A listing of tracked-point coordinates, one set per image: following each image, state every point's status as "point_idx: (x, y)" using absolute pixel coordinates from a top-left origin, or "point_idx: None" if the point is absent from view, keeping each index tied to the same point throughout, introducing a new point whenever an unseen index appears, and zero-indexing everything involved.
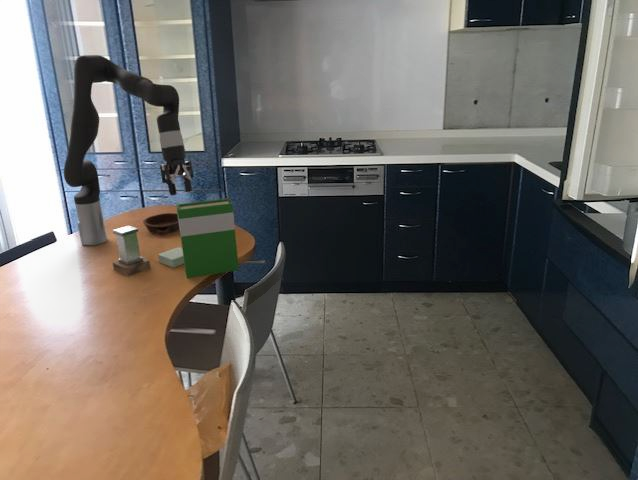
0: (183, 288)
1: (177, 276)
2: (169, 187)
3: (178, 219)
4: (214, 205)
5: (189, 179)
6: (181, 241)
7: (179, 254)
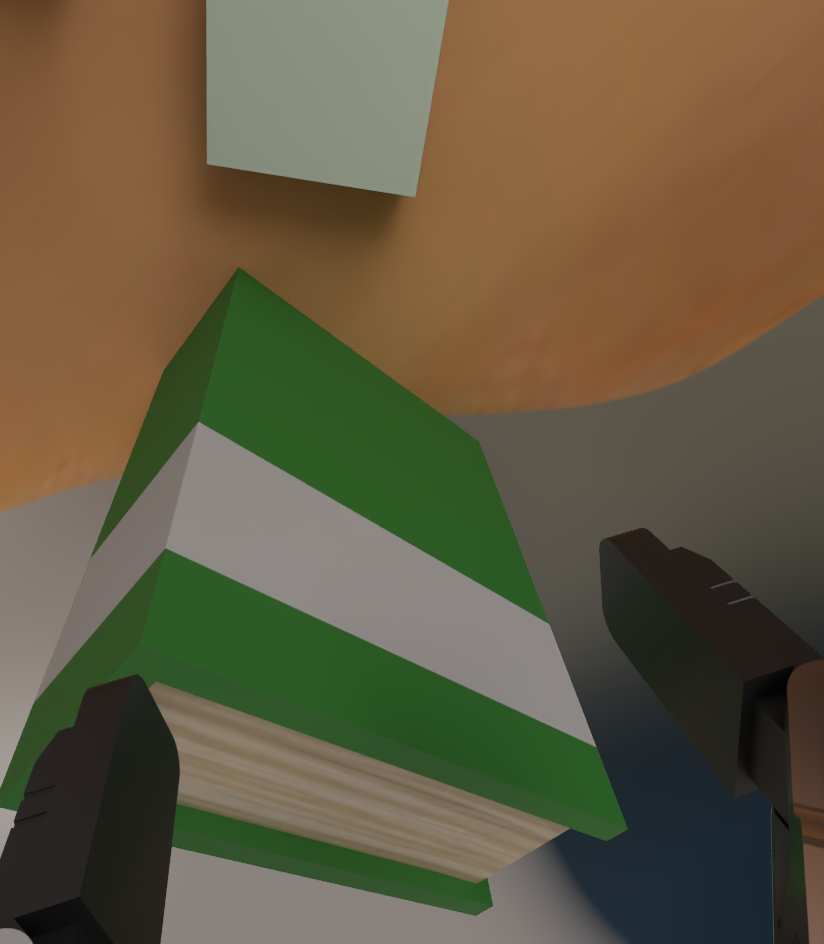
0: (68, 448)
1: (140, 299)
2: (10, 893)
3: (125, 570)
4: (364, 883)
5: (772, 827)
6: (175, 420)
7: (322, 123)
